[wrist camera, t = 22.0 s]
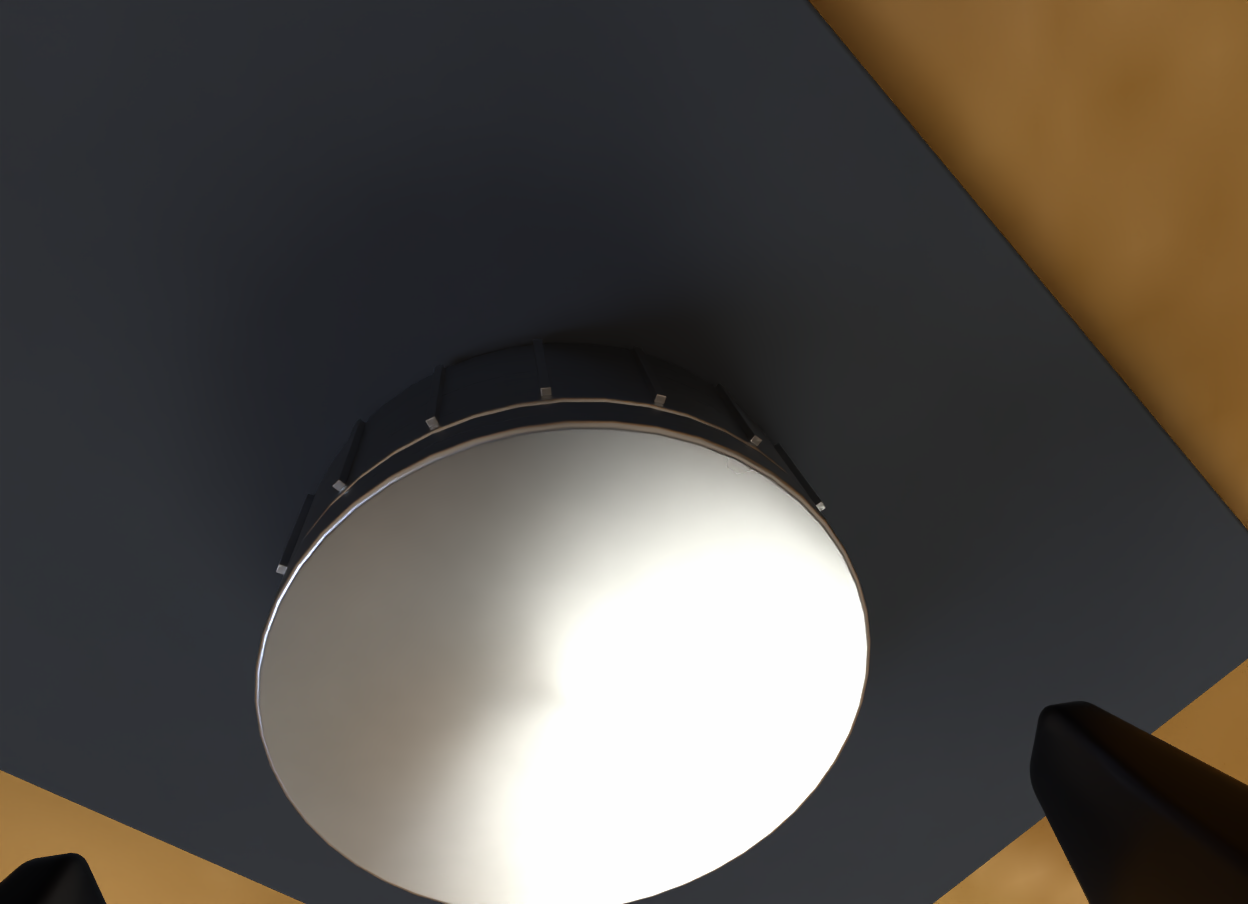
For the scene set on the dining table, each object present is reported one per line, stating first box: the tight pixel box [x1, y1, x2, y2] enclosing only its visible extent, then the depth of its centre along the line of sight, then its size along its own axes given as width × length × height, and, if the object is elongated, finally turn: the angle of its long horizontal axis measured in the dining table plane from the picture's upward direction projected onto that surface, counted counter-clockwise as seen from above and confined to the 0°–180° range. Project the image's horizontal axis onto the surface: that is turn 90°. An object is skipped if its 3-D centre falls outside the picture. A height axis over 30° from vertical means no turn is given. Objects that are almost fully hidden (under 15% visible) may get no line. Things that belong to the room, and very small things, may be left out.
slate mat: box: [0, 0, 1248, 904], centre depth 12 cm, size 20×14×1 cm
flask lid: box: [255, 339, 870, 904], centre depth 11 cm, size 7×7×2 cm
